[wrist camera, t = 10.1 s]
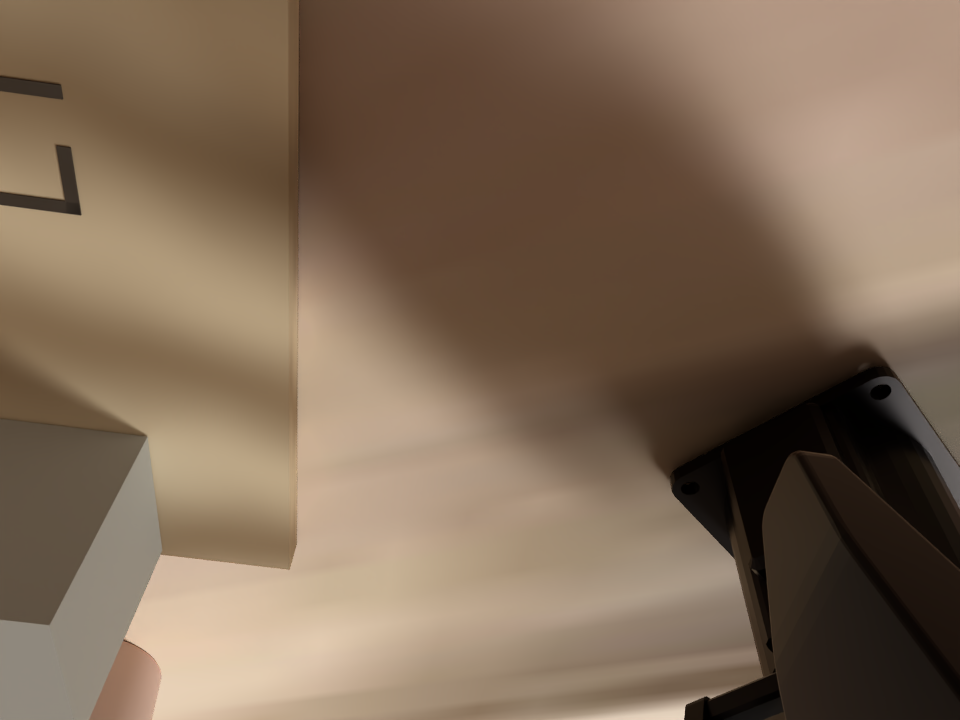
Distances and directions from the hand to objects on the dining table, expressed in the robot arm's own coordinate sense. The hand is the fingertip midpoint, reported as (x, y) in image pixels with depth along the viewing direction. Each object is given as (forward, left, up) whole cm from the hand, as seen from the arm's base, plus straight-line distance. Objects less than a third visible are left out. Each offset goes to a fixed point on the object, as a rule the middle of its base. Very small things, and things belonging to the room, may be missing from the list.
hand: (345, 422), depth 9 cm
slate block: (-2, +16, -11) cm, 19 cm away
